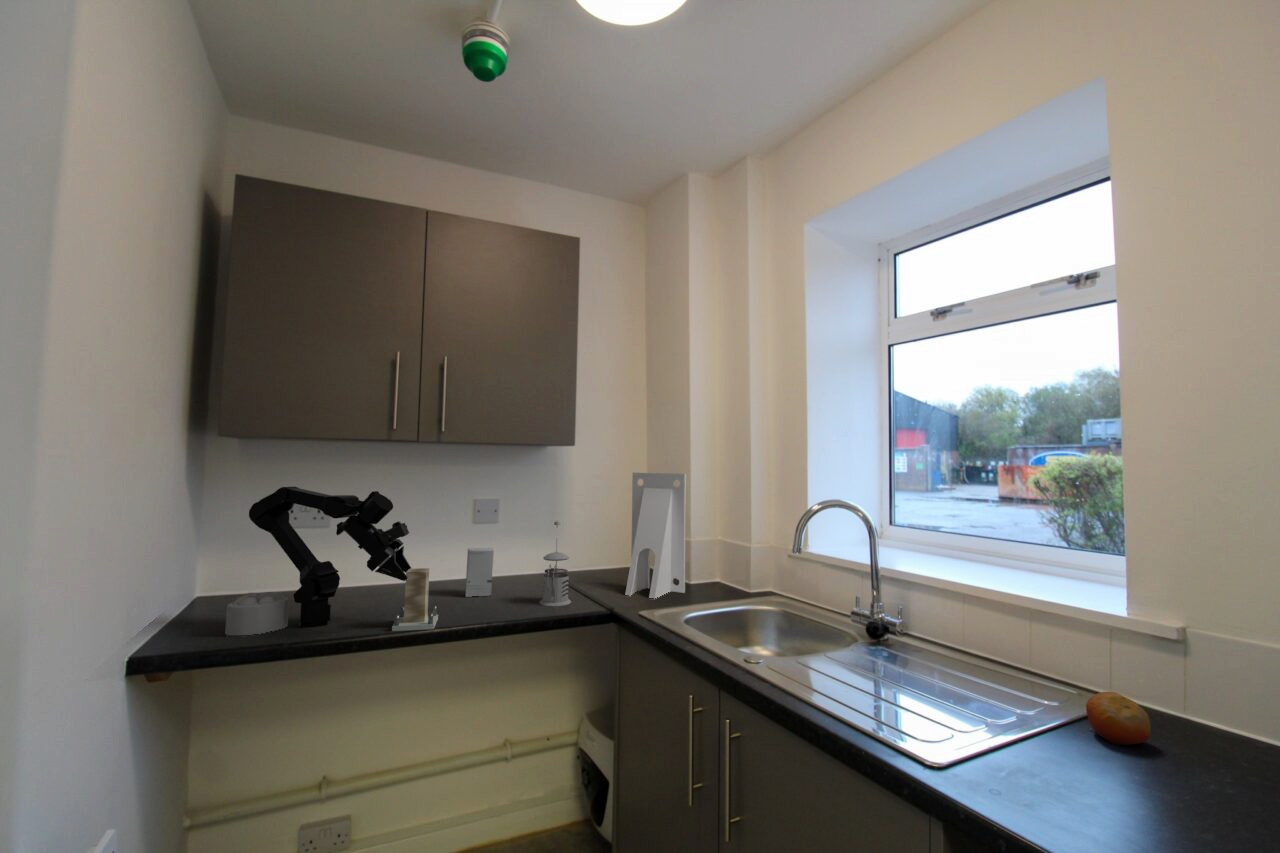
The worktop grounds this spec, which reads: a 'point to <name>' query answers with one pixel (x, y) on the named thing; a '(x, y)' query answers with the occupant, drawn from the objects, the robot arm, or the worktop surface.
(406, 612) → the birch post
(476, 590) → the skincare box
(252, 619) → the lumpy-topped squat cylinder
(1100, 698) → the fruit
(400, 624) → the peg board
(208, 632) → the worktop surface
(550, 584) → the french press
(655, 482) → the grey wedge bracket
